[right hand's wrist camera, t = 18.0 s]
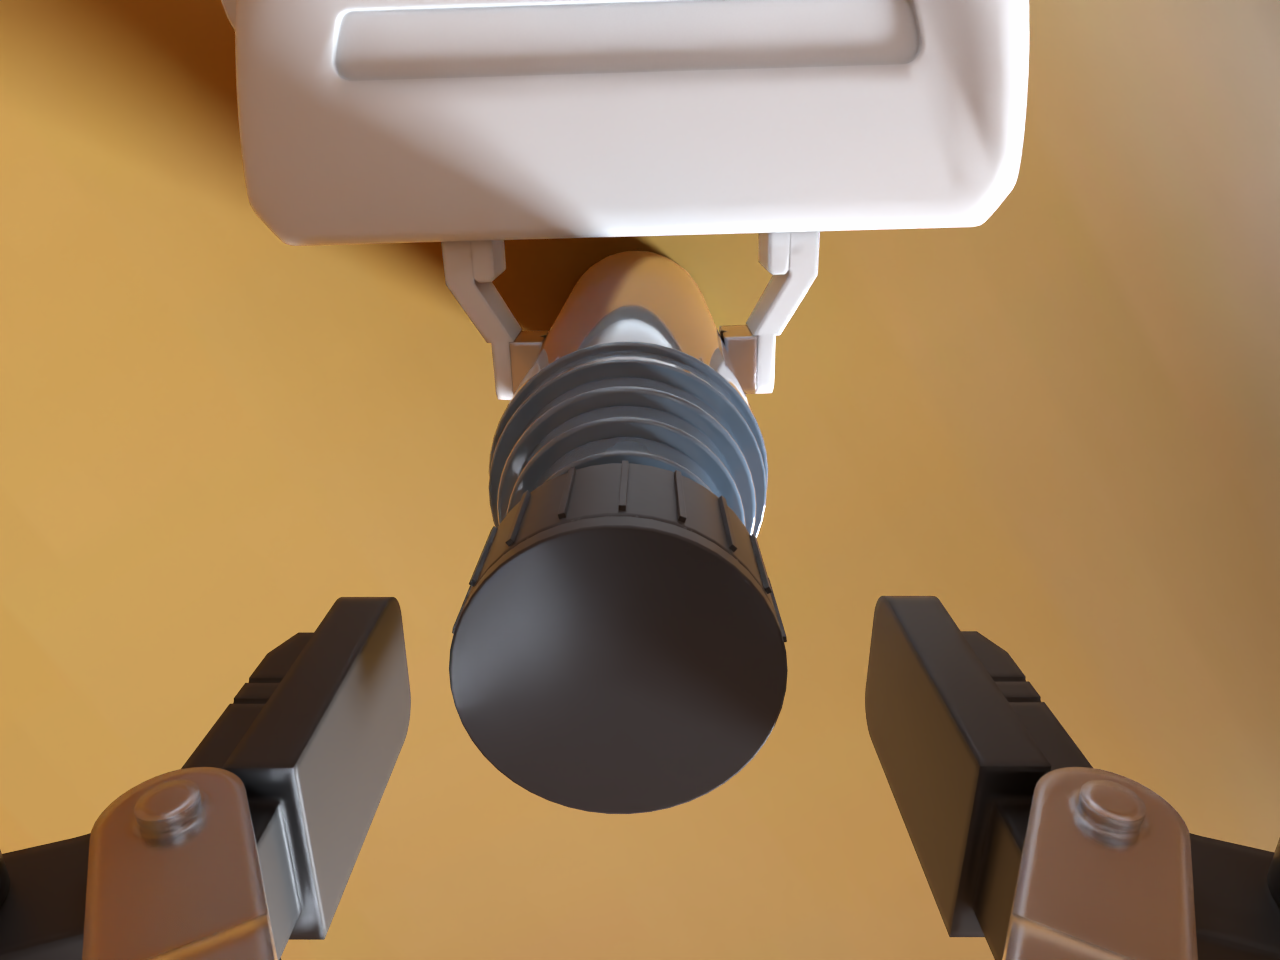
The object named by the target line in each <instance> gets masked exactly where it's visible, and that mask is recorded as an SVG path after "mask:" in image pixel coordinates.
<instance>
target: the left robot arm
mask: <svg viewBox="0 0 1280 960" xmlns="http://www.w3.org/2000/svg"><path fill="white" fill-rule="evenodd" d="M221 1H222V5H223V8H224V10H225V13H226V15H227V18H228V20H229V22H230V24H231V26H232V28H233V29H234V31H235V54H236V87H237V103H238V119H239V130H240V140H241V150H242V158H243V167H244V175H245V182H246V188H247V194H248V198H249V202H250V205H251V207H252V209H253V210H254V212H255V213H256V215H257V216H258V217H259V218H260V219H261V220H262V221H263V222H264V223H265V224H266V225H267V226H268V227H269V229H270V230H271V231H272V232H273V233H274V234H275V235H276V236H277V237H278V238H279V239H280V240H281V241H282V242H284V243H286V244H288V245H293V246H299V245H339V244H375V243H411V242H441V245H442V254H443V263H444V272H445V281H446V285H447V287H448V288H449V289H450V291H451V292H452V294H453V295H454V297H455V298H456V299H457V301H458V302H459V304H460V305H461V306H462V308H463V309H464V311H465V312H466V314H467V315H468V316H469V318H470V319H471V321H472V322H473V324H474V325H475V326H476V328H477V329H478V331H479V332H480V333H481V335H482V336H483V338H484V339H485V341H486V342H487V343H492V354H493V365H494V375H495V386H496V393H497V396H498V399H499V400H511V399H512V397H513V395H514V394H515V392H516V390H517V388H518V386H519V385H520V383H521V381H522V379H523V378H524V376H525V374H526V372H527V370H528V369H529V367H530V365H531V363H532V361H533V360H534V358H535V356H536V354H537V353H538V351H539V349H540V347H541V345H542V344H543V342H544V340H545V338H546V336H547V335H548V333H549V332H548V331H521V330H522V328H521V327H520V325H519V324H518V322H517V321H516V319H515V317H514V316H513V314H512V313H511V311H510V310H509V308H508V306H507V305H506V303H505V302H504V300H503V299H502V297H501V295H500V294H499V292H498V291H497V289H496V288H495V286H494V284H493V283H492V281H493V280H494V279H496V278H497V277H498V276H499V275H500V274H501V273H503V272H504V271H505V270H506V258H505V244H504V240H519V239H555V238H591V237H627V236H663V235H699V234H735V233H759V263H760V264H761V265H762V266H763V267H764V268H765V269H766V270H768V271H769V272H770V273H771V274H772V275H773V276H772V278H771V280H770V282H769V283H768V285H767V287H766V289H765V290H764V292H763V294H762V296H761V297H760V299H759V301H758V303H757V305H756V306H755V308H754V310H753V312H752V313H751V315H750V317H749V319H748V320H747V322H746V324H747V325H732V326H720V334H719V335H720V337H721V339H722V342H723V344H724V346H725V349H726V351H727V353H728V356H729V358H730V360H731V362H732V365H733V367H734V369H735V372H736V374H737V376H738V379H739V381H740V383H741V386H742V388H743V390H744V393H745V394H755V393H772V391H773V386H774V367H775V335H780V334H781V333H782V331H783V329H784V328H785V326H786V325H787V323H788V321H789V320H790V318H791V317H792V315H793V313H794V312H795V310H796V309H797V307H798V305H799V304H800V302H801V301H802V299H803V297H804V296H805V294H806V293H807V291H808V289H809V288H810V286H811V285H812V283H813V281H814V280H815V278H816V277H817V275H818V258H819V239H820V231H843V230H879V229H915V228H950V227H975V226H979V225H981V224H983V223H984V222H985V221H986V220H987V219H988V218H989V217H990V216H991V215H992V214H993V213H994V212H995V210H996V209H997V208H998V207H999V205H1000V204H1001V203H1002V202H1003V201H1004V199H1005V198H1006V197H1007V196H1008V194H1009V193H1010V192H1011V191H1012V189H1013V187H1014V185H1015V183H1016V180H1017V177H1018V173H1019V167H1020V161H1021V155H1022V147H1023V138H1024V129H1025V117H1026V105H1027V89H1028V67H1029V0H221Z"/></svg>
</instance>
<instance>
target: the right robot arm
mask: <svg viewBox="0 0 1280 960" xmlns="http://www.w3.org/2000/svg"><path fill="white" fill-rule="evenodd" d="M410 707H411V696H410V685H409V676H408V668H407V659H406V650H405V642H404V633H403V625H402V616H401V610H400V606H399V603H398V601H397V599H396V598H394V597H341V598H339V599H337V601H336V602H335V603H334V605H333V606H332V608H331V609H330V611H329V612H328V613H327V615H326V616H325V618H324V619H323V621H322V622H321V624H320V625H319V627H318V628H317V630H316V631H315V632H314V633H297V634H296V635H294V636H293V637H291V638H290V639H288V640H287V641H285V642H284V643H283V644H281V645H280V646H278V647H277V648H275V649H274V650H272V651H271V652H269V653H268V654H267V655H266V656H265V658H264V659H263V660H262V662H261V663H260V664H259V666H258V667H257V668H256V670H255V671H254V672H253V674H252V675H251V676H250V678H249V683H245V684H244V686H243V687H242V688H241V690H240V691H239V692H238V694H237V695H236V696H235V698H234V703H233V704H229V706H228V707H227V708H226V710H225V711H224V712H223V714H222V715H221V716H220V718H219V719H218V720H217V722H216V723H215V724H214V726H213V727H212V728H211V730H210V731H209V732H208V734H207V735H206V736H205V738H204V739H203V740H202V742H201V743H200V744H199V746H198V747H197V748H196V750H195V751H194V752H193V754H192V755H191V756H190V758H189V759H188V760H187V762H186V763H185V764H184V766H183V767H182V768H181V769H180V770H176V771H172V772H168V773H165V774H162V775H159V776H156V777H154V778H152V779H149V780H147V781H145V782H143V783H141V784H139V785H137V786H135V787H133V788H132V789H130V790H128V791H127V792H126V793H124V794H123V795H121V796H120V797H118V798H117V799H116V800H115V801H114V802H112V803H111V804H110V805H109V806H108V807H107V808H106V809H105V810H104V811H103V812H102V814H101V815H100V816H99V818H98V819H97V821H96V822H95V824H94V826H93V828H92V830H91V833H90V834H87V835H83V836H79V837H76V838H72V839H68V840H63V841H59V842H54V843H50V844H45V845H41V846H36V847H32V848H27V849H23V850H18V851H14V852H9V853H5V854H2V853H1V851H0V960H281V955H282V953H283V951H284V948H285V946H286V944H287V942H288V940H289V939H325V936H326V934H327V931H328V929H329V926H330V924H331V922H332V919H333V917H334V914H335V912H336V909H337V907H338V904H339V902H340V899H341V897H342V894H343V892H344V889H345V887H346V884H347V882H348V879H349V877H350V874H351V872H352V869H353V867H354V865H355V862H356V860H357V857H358V855H359V852H360V850H361V847H362V845H363V842H364V840H365V837H366V835H367V832H368V830H369V827H370V825H371V822H372V820H373V817H374V815H375V812H376V810H377V807H378V805H379V803H380V800H381V798H382V795H383V793H384V790H385V788H386V785H387V783H388V780H389V778H390V775H391V773H392V770H393V768H394V765H395V763H396V760H397V758H398V755H399V753H400V750H401V748H402V746H403V743H404V741H405V738H406V734H407V730H408V726H409V719H410ZM865 709H866V719H867V725H868V730H869V734H870V737H871V740H872V742H873V745H874V747H875V750H876V753H877V755H878V758H879V760H880V763H881V765H882V768H883V770H884V773H885V775H886V778H887V780H888V783H889V785H890V788H891V790H892V793H893V795H894V798H895V800H896V803H897V805H898V808H899V810H900V813H901V816H902V818H903V821H904V823H905V826H906V828H907V831H908V833H909V836H910V838H911V841H912V843H913V846H914V848H915V851H916V853H917V856H918V858H919V861H920V863H921V866H922V868H923V871H924V873H925V876H926V878H927V881H928V884H929V886H930V889H931V891H932V894H933V896H934V899H935V901H936V904H937V906H938V909H939V911H940V914H941V916H942V919H943V921H944V924H945V926H946V929H947V931H948V934H949V936H950V937H985V938H986V940H987V943H988V945H989V947H990V949H991V952H992V954H993V956H994V958H995V960H1280V839H1279V842H1278V845H1277V847H1276V850H1275V853H1274V852H1269V851H1265V850H1260V849H1256V848H1251V847H1247V846H1242V845H1238V844H1233V843H1229V842H1224V841H1220V840H1216V839H1211V838H1207V837H1202V836H1198V835H1194V834H1191V833H1189V830H1188V828H1187V826H1186V824H1185V822H1184V821H1183V819H1182V818H1181V816H1180V815H1179V814H1178V812H1177V811H1176V810H1175V809H1174V808H1173V807H1172V806H1171V805H1170V804H1169V803H1168V802H1166V801H1165V800H1164V799H1163V798H1162V797H1160V796H1159V795H1157V794H1156V793H1154V792H1153V791H1152V790H1150V789H1148V788H1147V787H1145V786H1143V785H1141V784H1139V783H1137V782H1135V781H1133V780H1131V779H1128V778H1126V777H1124V776H1121V775H1118V774H1115V773H1112V772H1108V771H1104V770H1100V769H1094V768H1093V767H1092V766H1091V765H1090V763H1089V762H1088V761H1087V759H1086V758H1085V756H1084V755H1083V754H1082V752H1081V751H1080V750H1079V748H1078V747H1077V746H1076V744H1075V743H1074V742H1073V740H1072V739H1071V738H1070V736H1069V735H1068V734H1067V732H1066V731H1065V730H1064V728H1063V727H1062V725H1061V724H1060V723H1059V721H1058V720H1057V719H1056V717H1055V716H1054V715H1053V713H1052V712H1051V711H1050V709H1049V708H1048V707H1047V705H1046V704H1045V703H1044V702H1041V700H1040V696H1039V694H1038V693H1037V692H1036V690H1035V689H1034V688H1033V686H1032V685H1031V684H1030V682H1026V680H1025V676H1024V674H1023V673H1022V671H1021V670H1020V669H1019V667H1018V666H1017V665H1016V663H1015V662H1014V661H1013V659H1012V658H1011V657H1010V655H1009V654H1008V653H1007V652H1006V651H1005V650H1003V649H1002V648H1000V647H999V646H997V645H996V644H994V643H993V642H991V641H990V640H988V639H987V638H985V637H984V636H983V635H981V634H980V633H978V632H977V631H960V630H959V628H958V627H957V625H956V624H955V622H954V621H953V620H952V618H951V617H950V615H949V614H948V612H947V611H946V609H945V608H944V606H943V605H942V603H941V602H940V600H939V599H938V598H937V597H935V596H881V597H880V598H879V599H878V601H877V604H876V607H875V612H874V621H873V629H872V638H871V647H870V656H869V665H868V673H867V682H866V692H865Z"/></svg>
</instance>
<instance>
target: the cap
mask: <svg viewBox="0 0 1280 960" xmlns="http://www.w3.org/2000/svg"><path fill="white" fill-rule="evenodd" d="M469 585H470V588H469V590H468V592H467V595H466V597H465V600H464V602H463V605H462V607H461V610H460V612H459V614H458V617H457V619H456V622H455V624H454V627H453V631H452V633H453V634H454V635H453V640H452V644H451V649H450V662H449V673H450V685H451V690H452V694H453V699H454V703H455V706H456V709H457V711H458V714H459V716H460V719H461V721H462V724H463V726H464V727H465V729H466V731H467V733H468V734H469V736H470V738H471V739H472V741H473V742H474V744H475V745H476V746H477V748H478V749H479V750H480V751H481V753H482V754H483V755H484V756H485V757H486V758H487V759H488V760H489V761H490V762H491V763H492V764H493V765H494V766H495V767H496V768H497V769H498V770H499V771H500V772H501V773H503V774H504V775H505V776H507V777H508V778H509V779H510V780H512V781H513V782H515V783H516V784H518V785H519V786H521V787H523V788H524V789H526V790H528V791H529V792H531V793H533V794H536V795H538V796H540V797H542V798H544V799H546V800H549V801H551V802H554V803H557V804H560V805H563V806H566V807H570V808H575V809H579V810H584V811H588V812H597V813H606V814H633V813H644V812H652V811H656V810H661V809H666V808H671V807H674V806H677V805H680V804H683V803H686V802H689V801H691V800H694V799H696V798H698V797H700V796H703V795H705V794H707V793H709V792H710V791H712V790H714V789H715V788H717V787H719V786H720V785H722V784H724V783H725V782H726V781H728V780H729V779H730V778H732V777H733V776H734V775H736V774H737V773H738V772H739V771H741V770H742V769H743V768H744V767H745V766H746V765H747V764H748V763H749V762H750V761H751V760H752V759H753V758H754V756H755V755H756V754H757V752H758V751H759V750H760V748H761V747H762V746H763V745H764V743H765V742H766V740H767V738H768V737H769V735H770V733H771V731H772V730H773V728H774V726H775V724H776V721H777V719H778V716H779V713H780V711H781V708H782V705H783V700H784V696H785V692H786V683H787V658H786V650H785V645H784V642H787V639H786V634H785V631H784V627H783V624H782V621H781V617H780V614H779V611H778V607H777V604H776V600H775V597H774V594H773V590H772V587H771V584H770V580H769V578H768V576H767V573H766V569H765V566H764V562H763V559H762V556H761V552H760V549H759V546H758V542H757V539H756V536H755V535H754V533H753V534H751V535H750V534H749V533H748V531H747V529H746V527H745V526H744V524H743V523H742V522H741V520H740V519H739V518H738V517H737V515H736V514H735V513H734V511H733V510H732V509H731V508H730V507H728V506H727V502H726V499H725V498H724V497H723V496H720V497H718V496H716V495H715V494H713V493H712V492H711V491H709V490H708V489H707V488H705V487H704V486H702V485H700V484H698V483H696V482H695V481H693V480H691V479H689V478H687V477H685V476H682V475H681V472H680V471H678V470H675V472H672V471H669V470H665V469H661V468H657V467H653V466H648V465H640V464H632V463H628V461H625V460H623V461H622V463H610V464H602V465H593V466H589V467H585V468H581V469H577V470H576V469H575V467H573V468H570V469H569V470H568V473H565V474H563V475H560V476H558V477H555V478H553V479H552V480H550V481H548V482H546V483H544V484H542V485H541V486H539V487H537V488H536V489H535V490H533V491H532V492H531V493H530V492H529V491H528V490H527V491H526V492H525V493H523V495H522V498H521V501H520V502H519V503H518V504H517V505H516V506H514V507H513V508H512V509H511V511H510V512H509V513H508V514H507V516H506V517H505V518H504V519H503V521H502V522H501V523H500V525H499V527H498V528H496V527H493V528H492V530H491V532H490V534H489V537H488V539H487V541H486V544H485V546H484V549H483V551H482V553H481V556H480V558H479V561H478V563H477V565H476V568H475V570H474V573H473V575H472V578H471V580H470V582H469Z"/></svg>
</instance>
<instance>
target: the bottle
mask: <svg viewBox="0 0 1280 960" xmlns="http://www.w3.org/2000/svg"><path fill="white" fill-rule="evenodd" d="M623 460H625V461H628V463H632V464H640V465H648V466H653V467H657V468H661V469H665V470H669V471H672V472H675V470H678V471H680V472H681V475H682V476H685V477H687V478H689V479H691V480H693V481H695V482H696V483H698V484H700V485H702V486H704V487H705V488H707V489H708V490H709V491H711V492H712V493H713V494H715V495H716V496H718V497H720V496H723V497H724V498H725V499H726V502H727V506H728V507H730V508H731V509H732V510H733V511H734V513H735V514H736V515H737V517H738V518H739V519H740V520H741V522H742V523H743V524H744V526H745V527H746V529H747V531H748V533H749V534H750V535H751V534H753V533H754V535H755V536H756V538H757V535H758V532H759V529H760V526H761V524H762V521H763V516H764V510H765V505H766V492H767V484H768V463H767V453H766V449H765V444H764V440H763V436H762V434H761V431H760V428H759V426H758V423H757V421H756V418H755V416H754V414H753V411H752V409H751V407H750V404H749V402H748V400H747V397H746V395H745V393H744V390H743V388H742V386H741V383H740V381H739V379H738V376H737V374H736V372H735V369H734V367H733V365H732V362H731V360H730V358H729V356H728V353H727V351H726V349H725V346H724V344H723V342H722V339H721V337H720V335H719V332H718V330H717V328H716V325H715V323H714V321H713V318H712V316H711V314H710V311H709V309H708V307H707V304H706V302H705V300H704V297H703V295H702V293H701V291H700V289H699V287H698V285H697V284H696V282H695V281H694V279H693V278H692V277H691V276H690V274H689V273H688V272H687V271H686V270H685V269H684V268H682V267H681V266H680V265H678V264H677V263H676V262H674V261H672V260H671V259H669V258H667V257H664V256H662V255H660V254H656V253H652V252H647V251H626V252H620V253H617V254H613V255H611V256H608V257H606V258H604V259H602V260H600V261H599V262H597V263H595V264H594V265H593V266H592V267H590V268H589V269H588V270H587V271H586V272H585V273H584V274H583V275H582V276H581V278H580V279H579V280H578V282H577V283H576V285H575V286H574V288H573V290H572V292H571V294H570V295H569V297H568V299H567V301H566V303H565V304H564V306H563V308H562V310H561V311H560V313H559V315H558V317H557V319H556V320H555V322H554V324H553V326H552V328H551V329H550V331H549V333H548V335H547V336H546V338H545V340H544V342H543V344H542V345H541V347H540V349H539V351H538V353H537V354H536V356H535V358H534V360H533V361H532V363H531V365H530V367H529V369H528V370H527V372H526V374H525V376H524V378H523V379H522V381H521V383H520V385H519V386H518V388H517V390H516V392H515V394H514V395H513V397H512V399H511V401H510V403H509V404H508V406H507V408H506V410H505V412H504V414H503V415H502V417H501V419H500V421H499V424H498V427H497V429H496V432H495V435H494V438H493V443H492V447H491V452H490V462H489V499H490V507H491V512H492V517H493V521H494V524H495V527H496V528H498V527H499V525H500V523H501V522H502V521H503V519H504V518H505V517H506V516H507V514H508V513H509V512H510V511H511V509H512V508H513V507H514V506H516V505H517V504H518V503H519V502H520V501H521V498H522V495H523V493H525V492H526V491H527V490H528V491H529V492H530V493H531V492H532V491H533V490H535V489H536V488H537V487H539V486H541V485H542V484H544V483H546V482H548V481H550V480H552V479H553V478H555V477H558V476H560V475H563V474H565V473H568V470H569V469H570V468H573V467H575V469H576V470H577V469H581V468H585V467H589V466H593V465H602V464H610V463H622V461H623Z"/></svg>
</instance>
